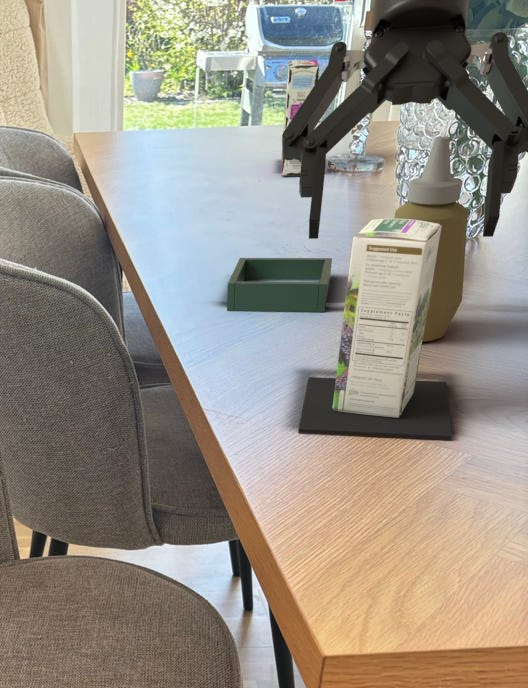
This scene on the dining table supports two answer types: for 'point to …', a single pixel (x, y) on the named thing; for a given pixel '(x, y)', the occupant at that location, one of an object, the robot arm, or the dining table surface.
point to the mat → (415, 421)
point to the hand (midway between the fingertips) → (400, 228)
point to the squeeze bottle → (440, 207)
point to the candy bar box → (297, 100)
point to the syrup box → (385, 315)
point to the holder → (279, 285)
